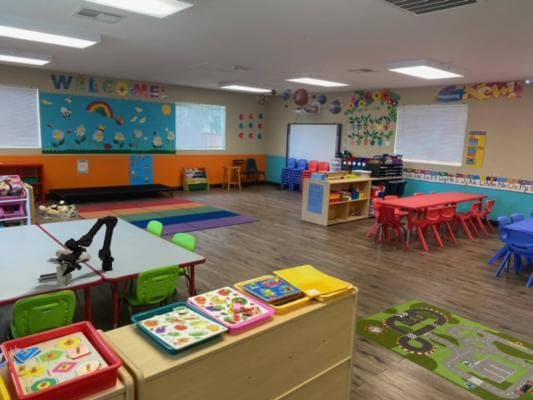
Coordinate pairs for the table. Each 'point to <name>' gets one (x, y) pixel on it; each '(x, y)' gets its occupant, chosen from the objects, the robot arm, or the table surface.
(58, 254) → the animal model
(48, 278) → the door track
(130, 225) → the table surface
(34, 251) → the table surface
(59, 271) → the grey green block
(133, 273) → the table surface
